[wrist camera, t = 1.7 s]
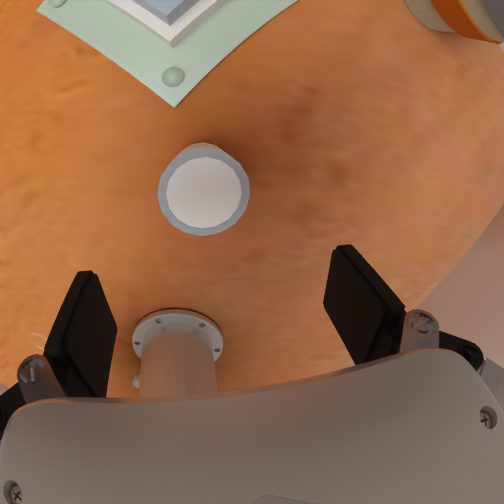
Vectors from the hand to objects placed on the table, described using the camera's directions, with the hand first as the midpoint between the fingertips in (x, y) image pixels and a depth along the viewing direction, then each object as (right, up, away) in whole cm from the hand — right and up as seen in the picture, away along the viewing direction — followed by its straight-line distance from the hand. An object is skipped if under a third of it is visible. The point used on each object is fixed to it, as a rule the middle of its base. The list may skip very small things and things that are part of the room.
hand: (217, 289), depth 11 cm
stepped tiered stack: (-6, +26, +4) cm, 27 cm away
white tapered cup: (-3, +9, +15) cm, 18 cm away
